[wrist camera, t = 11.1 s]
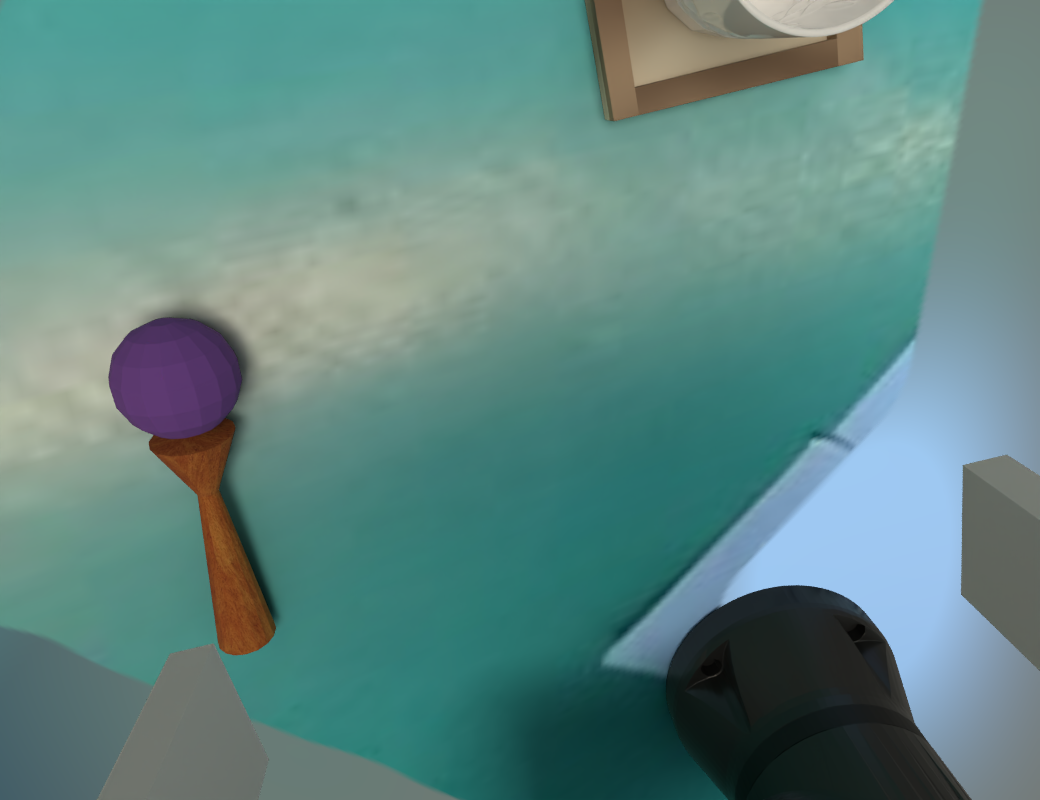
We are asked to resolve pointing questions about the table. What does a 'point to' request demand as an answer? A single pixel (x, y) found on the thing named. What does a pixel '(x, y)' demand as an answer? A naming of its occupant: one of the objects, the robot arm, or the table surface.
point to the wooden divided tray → (693, 58)
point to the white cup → (774, 17)
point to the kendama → (195, 451)
